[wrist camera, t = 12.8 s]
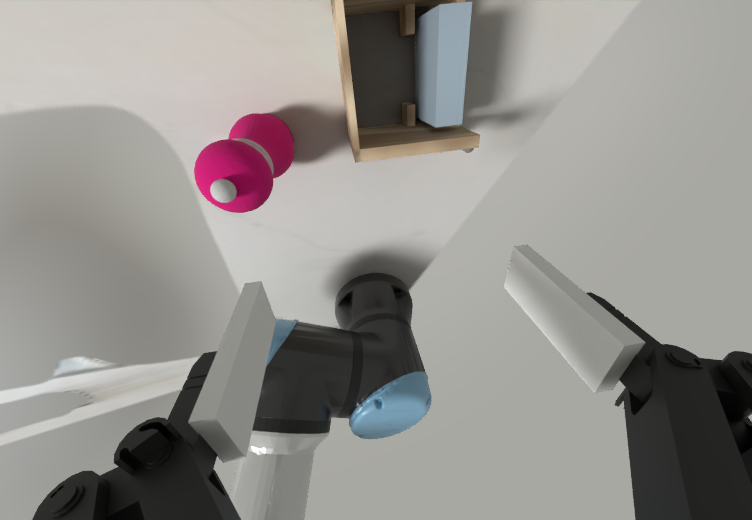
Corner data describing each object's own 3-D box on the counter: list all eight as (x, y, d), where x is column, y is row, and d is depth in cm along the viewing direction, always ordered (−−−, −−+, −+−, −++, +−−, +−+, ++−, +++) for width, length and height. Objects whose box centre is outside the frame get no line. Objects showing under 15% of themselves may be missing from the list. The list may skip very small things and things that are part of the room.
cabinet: (447, 134, 39) (486, 154, 30) (349, 145, 39) (356, 171, 29) (456, -10, 31) (514, -48, 21) (331, 1, 30) (331, -34, 20)
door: (442, 113, 38) (469, 123, 30) (415, 116, 38) (435, 127, 30) (446, 17, 32) (481, 0, 25) (414, 19, 32) (439, 4, 25)
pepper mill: (308, 136, 37) (290, 187, 21) (279, 178, 40) (243, 253, 23) (257, 95, 34) (188, 118, 18) (229, 144, 36) (147, 203, 20)
